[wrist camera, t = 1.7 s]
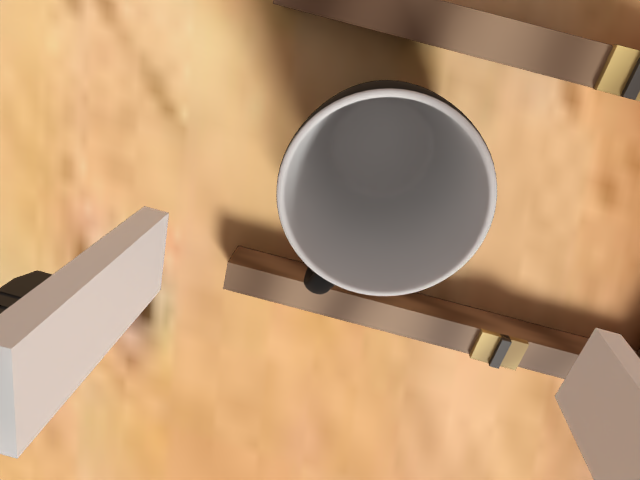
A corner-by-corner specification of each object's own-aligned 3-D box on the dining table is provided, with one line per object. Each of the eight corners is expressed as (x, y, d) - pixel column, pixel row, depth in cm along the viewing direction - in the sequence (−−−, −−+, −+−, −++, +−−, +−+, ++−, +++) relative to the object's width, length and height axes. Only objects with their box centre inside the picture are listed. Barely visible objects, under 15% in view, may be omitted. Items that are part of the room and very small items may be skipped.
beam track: (233, 271, 33) (216, 301, 29) (289, -37, 25) (274, -48, 21) (650, 381, 33) (684, 425, 29) (840, 108, 25) (919, 121, 21)
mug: (354, 35, 26) (342, 39, 17) (490, 117, 27) (548, 163, 18) (261, 211, 31) (213, 288, 22) (379, 275, 32) (380, 375, 23)
